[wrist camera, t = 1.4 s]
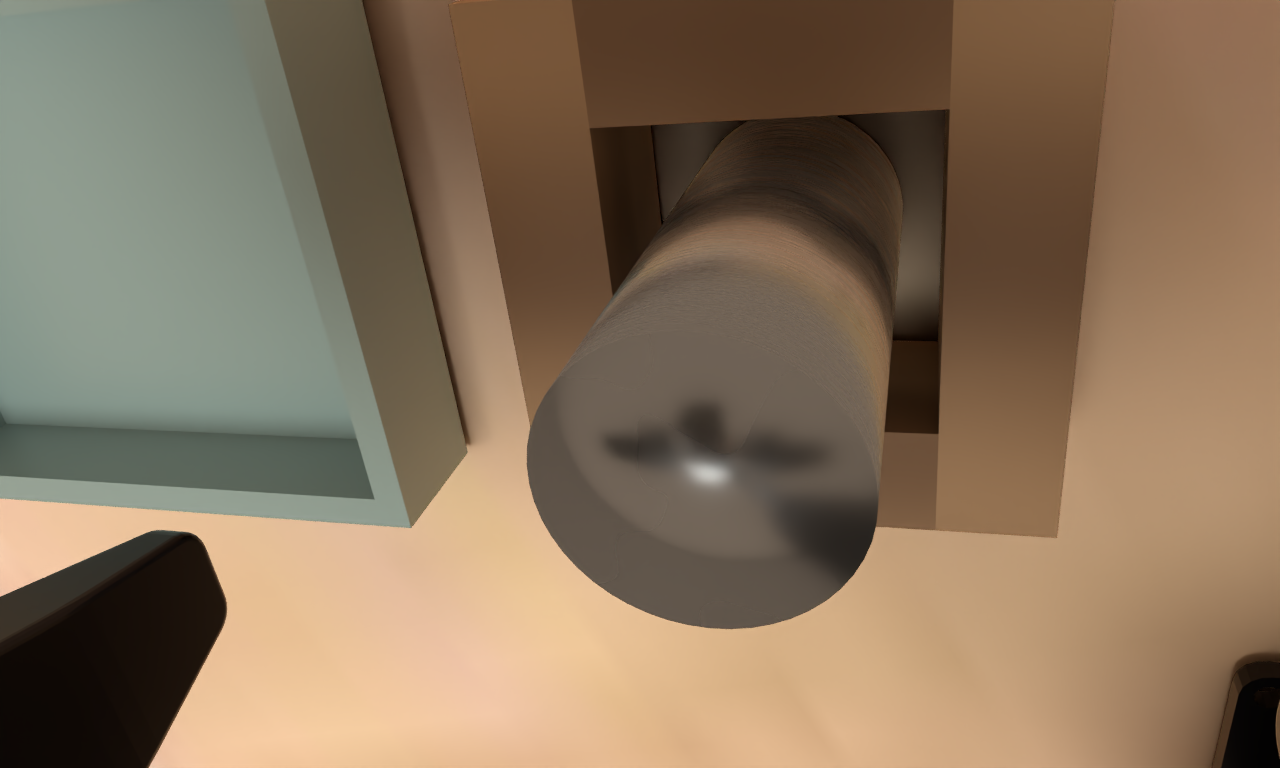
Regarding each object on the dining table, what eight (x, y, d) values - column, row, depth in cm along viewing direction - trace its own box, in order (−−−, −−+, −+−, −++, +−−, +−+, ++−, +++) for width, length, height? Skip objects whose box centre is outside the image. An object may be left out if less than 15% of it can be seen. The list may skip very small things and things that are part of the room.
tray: (467, 452, 20) (411, 527, 18) (17, 431, 24) (-77, 492, 21) (344, -74, 16) (248, -59, 13) (-196, -8, 19) (-343, 14, 17)
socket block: (1038, 431, 17) (1056, 537, 14) (597, 415, 19) (545, 505, 16) (1084, -81, 13) (1121, -60, 10) (529, -25, 15) (448, 4, 13)
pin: (901, 308, 16) (878, 643, 10) (703, 307, 17) (556, 613, 11) (904, 103, 15) (878, 332, 8) (685, 114, 16) (498, 330, 9)
